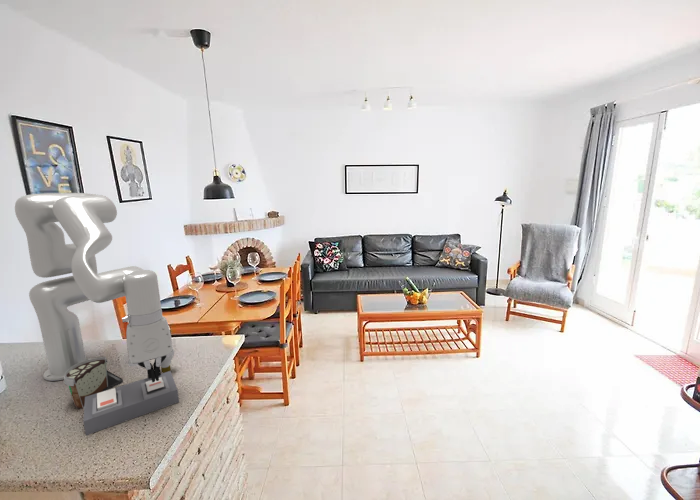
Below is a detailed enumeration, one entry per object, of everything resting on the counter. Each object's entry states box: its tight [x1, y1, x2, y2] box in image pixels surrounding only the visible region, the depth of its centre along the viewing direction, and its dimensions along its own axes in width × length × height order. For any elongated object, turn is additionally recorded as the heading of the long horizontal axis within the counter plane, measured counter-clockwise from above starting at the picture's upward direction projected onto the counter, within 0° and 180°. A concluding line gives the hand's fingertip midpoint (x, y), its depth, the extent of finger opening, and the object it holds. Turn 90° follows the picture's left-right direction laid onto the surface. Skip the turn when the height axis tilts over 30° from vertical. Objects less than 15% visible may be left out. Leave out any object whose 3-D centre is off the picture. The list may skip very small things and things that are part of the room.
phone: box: [103, 370, 124, 391], centre depth 104 cm, size 8×1×15 cm
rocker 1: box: [97, 387, 117, 411], centre depth 87 cm, size 6×4×1 cm
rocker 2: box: [146, 377, 164, 392], centre depth 93 cm, size 6×4×1 cm
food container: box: [63, 356, 109, 410], centre depth 95 cm, size 12×6×10 cm, turn 178°
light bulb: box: [160, 348, 175, 374], centre depth 108 cm, size 6×6×10 cm
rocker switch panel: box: [82, 370, 180, 436], centre depth 92 cm, size 12×21×5 cm, turn 127°
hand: (155, 379), depth 91 cm, fingers closed
